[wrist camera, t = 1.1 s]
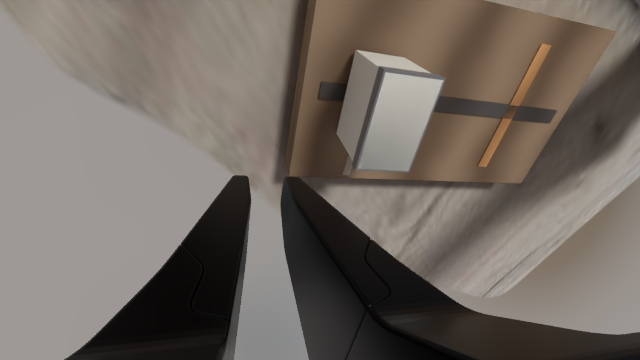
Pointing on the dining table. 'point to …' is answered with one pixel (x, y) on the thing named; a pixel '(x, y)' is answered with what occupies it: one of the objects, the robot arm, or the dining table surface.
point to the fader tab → (386, 111)
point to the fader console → (458, 90)
